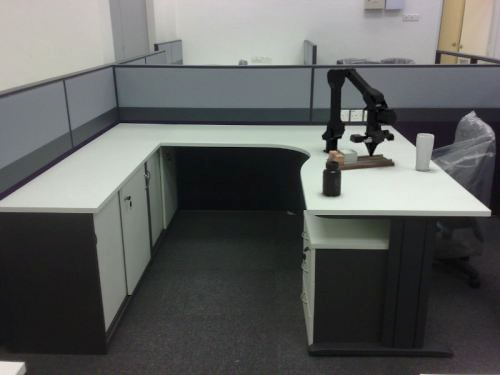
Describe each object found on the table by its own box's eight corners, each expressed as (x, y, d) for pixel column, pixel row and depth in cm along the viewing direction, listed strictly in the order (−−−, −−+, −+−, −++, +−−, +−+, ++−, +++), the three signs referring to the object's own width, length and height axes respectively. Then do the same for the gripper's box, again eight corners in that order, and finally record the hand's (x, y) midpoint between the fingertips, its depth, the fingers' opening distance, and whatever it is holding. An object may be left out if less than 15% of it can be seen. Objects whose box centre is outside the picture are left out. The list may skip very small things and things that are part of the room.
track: (326, 161, 213) (327, 150, 211) (379, 157, 218) (380, 146, 216) (338, 170, 200) (339, 158, 198) (394, 165, 205) (395, 153, 203)
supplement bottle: (338, 190, 176) (340, 159, 173) (342, 196, 170) (344, 164, 166) (320, 190, 176) (321, 160, 172) (323, 197, 170) (325, 165, 166)
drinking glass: (419, 172, 195) (423, 137, 190) (410, 168, 201) (413, 134, 196) (433, 171, 197) (437, 136, 192) (424, 166, 203) (427, 132, 198)
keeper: (338, 160, 209) (339, 150, 208) (351, 159, 210) (351, 149, 209) (344, 163, 204) (344, 153, 202) (357, 162, 205) (357, 152, 203)
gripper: (360, 126, 194) (358, 162, 199) (402, 124, 198) (399, 159, 203) (350, 121, 205) (348, 156, 210) (389, 119, 208) (386, 153, 213)
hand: (370, 156), depth 209 cm, fingers closed
